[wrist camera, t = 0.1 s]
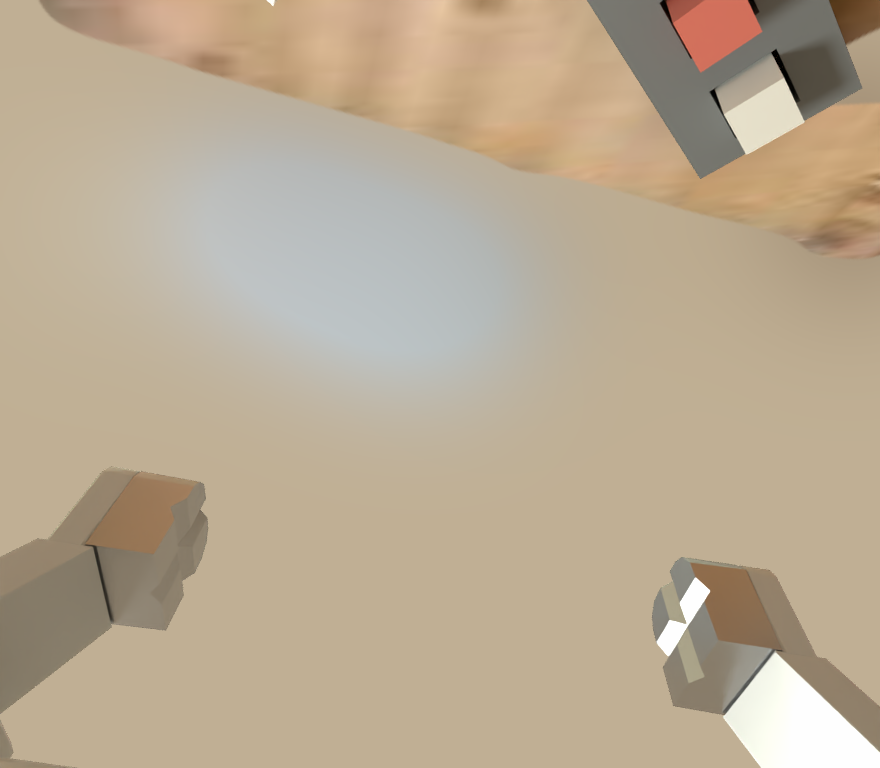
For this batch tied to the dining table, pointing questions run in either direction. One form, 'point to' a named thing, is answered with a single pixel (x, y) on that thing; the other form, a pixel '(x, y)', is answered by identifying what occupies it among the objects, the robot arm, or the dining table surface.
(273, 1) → the white angled block
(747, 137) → the white button
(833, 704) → the robot arm
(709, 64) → the red button
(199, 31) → the dining table surface
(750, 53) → the button console
